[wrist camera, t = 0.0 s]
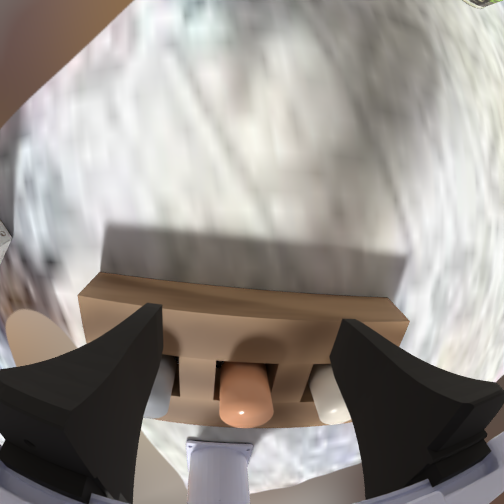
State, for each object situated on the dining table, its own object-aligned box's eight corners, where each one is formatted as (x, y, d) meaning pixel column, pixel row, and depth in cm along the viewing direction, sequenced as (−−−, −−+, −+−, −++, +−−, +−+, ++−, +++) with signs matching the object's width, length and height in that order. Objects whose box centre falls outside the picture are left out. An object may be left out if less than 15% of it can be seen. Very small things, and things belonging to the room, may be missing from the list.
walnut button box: (347, 394, 27) (359, 421, 23) (116, 380, 24) (105, 409, 20) (387, 297, 23) (409, 321, 19) (99, 272, 20) (77, 295, 16)
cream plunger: (340, 385, 22) (355, 421, 18) (302, 387, 22) (313, 426, 18) (353, 355, 21) (373, 391, 17) (312, 356, 21) (327, 396, 17)
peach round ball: (262, 387, 22) (268, 428, 17) (218, 385, 21) (218, 426, 17) (270, 355, 20) (278, 397, 16) (221, 352, 20) (221, 395, 16)
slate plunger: (177, 381, 21) (170, 421, 17) (135, 374, 20) (121, 413, 16) (176, 347, 20) (166, 389, 16) (130, 341, 19) (113, 380, 15)
